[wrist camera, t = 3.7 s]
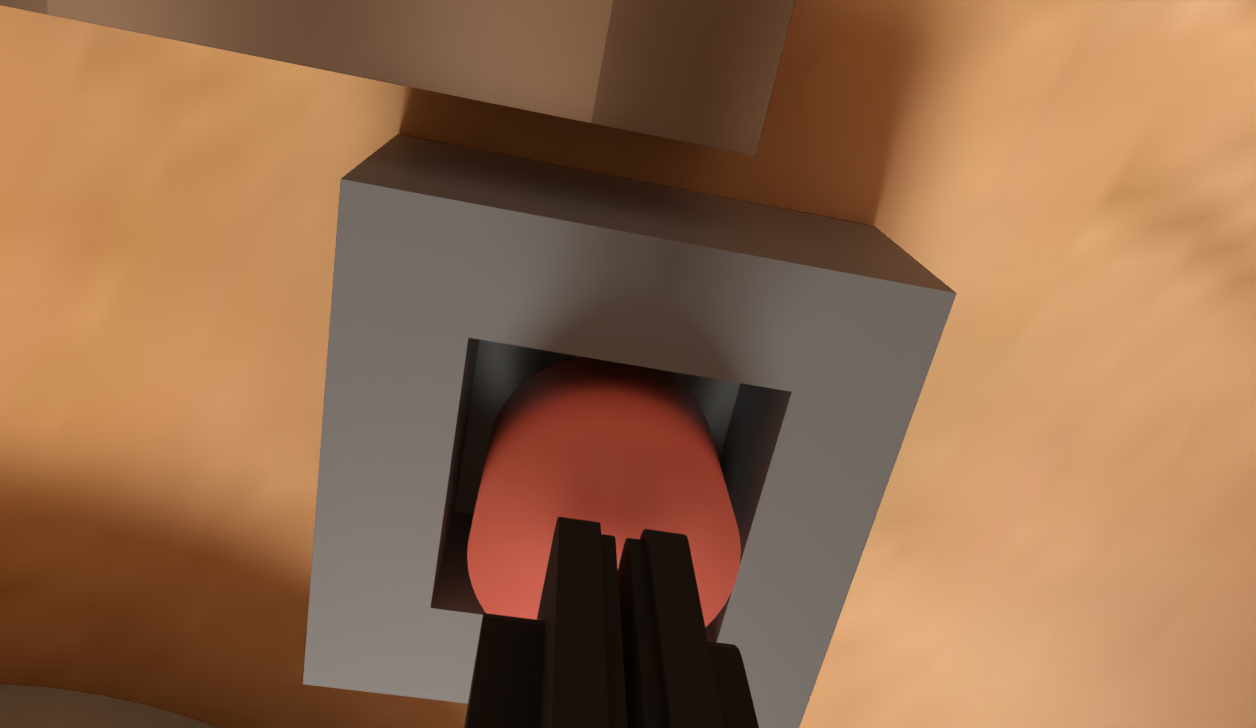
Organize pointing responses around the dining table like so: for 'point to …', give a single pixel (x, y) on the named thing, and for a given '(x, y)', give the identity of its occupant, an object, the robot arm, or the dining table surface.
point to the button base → (612, 331)
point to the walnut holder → (509, 52)
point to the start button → (598, 479)
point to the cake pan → (80, 710)
